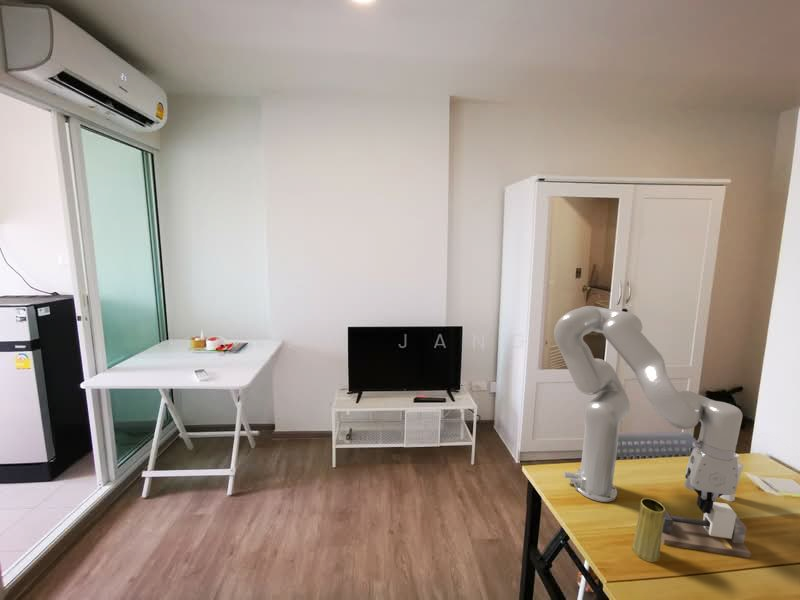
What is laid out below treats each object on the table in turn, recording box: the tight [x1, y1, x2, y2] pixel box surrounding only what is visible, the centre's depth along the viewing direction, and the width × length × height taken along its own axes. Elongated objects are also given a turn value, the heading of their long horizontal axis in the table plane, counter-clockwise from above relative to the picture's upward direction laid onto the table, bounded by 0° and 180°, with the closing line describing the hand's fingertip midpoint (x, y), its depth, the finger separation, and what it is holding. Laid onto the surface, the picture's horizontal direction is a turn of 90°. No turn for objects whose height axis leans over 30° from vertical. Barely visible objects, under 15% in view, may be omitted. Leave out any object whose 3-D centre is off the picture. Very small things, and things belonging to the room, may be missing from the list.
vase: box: [631, 497, 666, 563], centre depth 99 cm, size 6×6×14 cm
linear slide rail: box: [661, 508, 752, 559], centre depth 106 cm, size 20×10×6 cm, turn 78°
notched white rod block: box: [702, 501, 737, 539], centre depth 104 cm, size 5×4×8 cm
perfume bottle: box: [719, 452, 744, 502], centre depth 121 cm, size 5×4×15 cm
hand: (703, 509), depth 104 cm, fingers closed
